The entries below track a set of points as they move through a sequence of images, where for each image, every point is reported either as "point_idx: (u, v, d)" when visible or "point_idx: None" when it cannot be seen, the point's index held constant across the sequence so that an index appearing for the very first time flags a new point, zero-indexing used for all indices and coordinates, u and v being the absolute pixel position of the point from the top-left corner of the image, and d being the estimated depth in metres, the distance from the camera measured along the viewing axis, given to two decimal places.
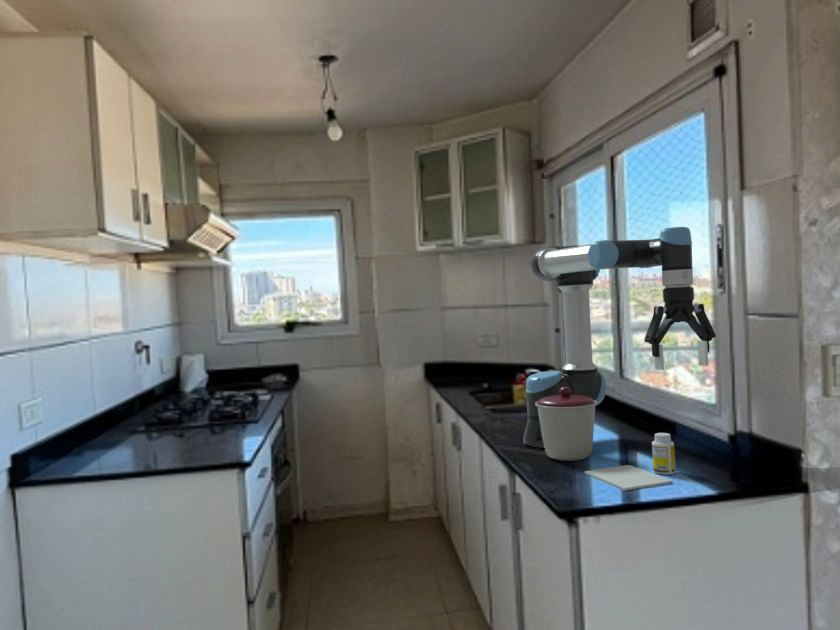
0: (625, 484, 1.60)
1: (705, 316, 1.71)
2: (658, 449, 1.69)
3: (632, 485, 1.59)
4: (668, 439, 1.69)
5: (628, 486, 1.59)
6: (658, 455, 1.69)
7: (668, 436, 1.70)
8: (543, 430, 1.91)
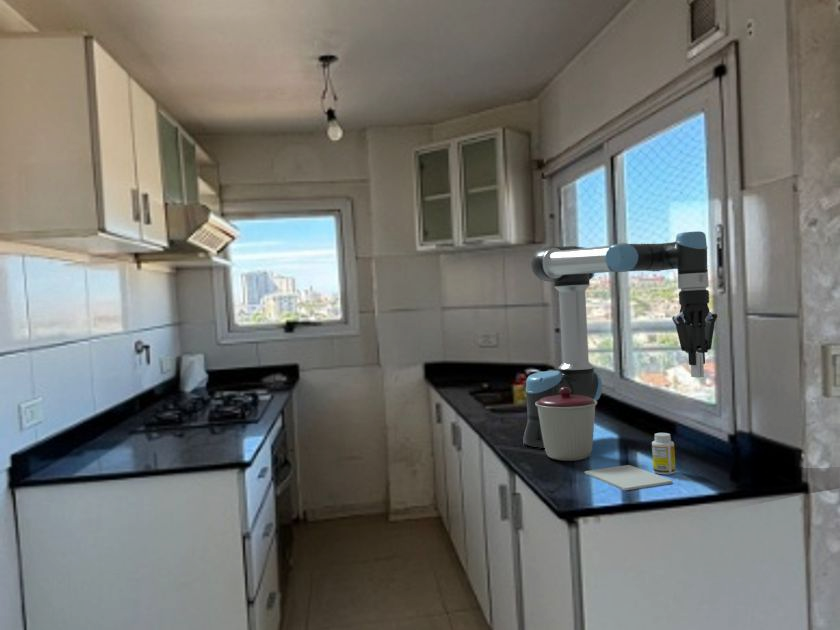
0: (625, 484, 1.60)
1: (712, 326, 1.75)
2: (658, 449, 1.69)
3: (632, 485, 1.59)
4: (668, 439, 1.69)
5: (628, 486, 1.59)
6: (658, 455, 1.69)
7: (668, 436, 1.70)
8: (543, 430, 1.91)
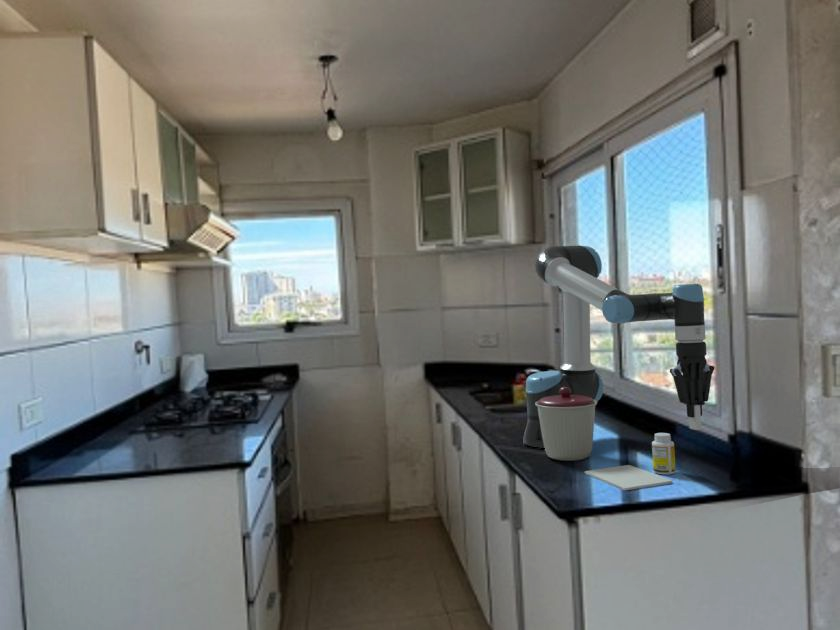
0: (625, 484, 1.60)
1: (710, 378, 1.74)
2: (658, 449, 1.69)
3: (632, 485, 1.59)
4: (668, 439, 1.69)
5: (628, 486, 1.59)
6: (658, 455, 1.69)
7: (668, 436, 1.70)
8: (543, 430, 1.91)
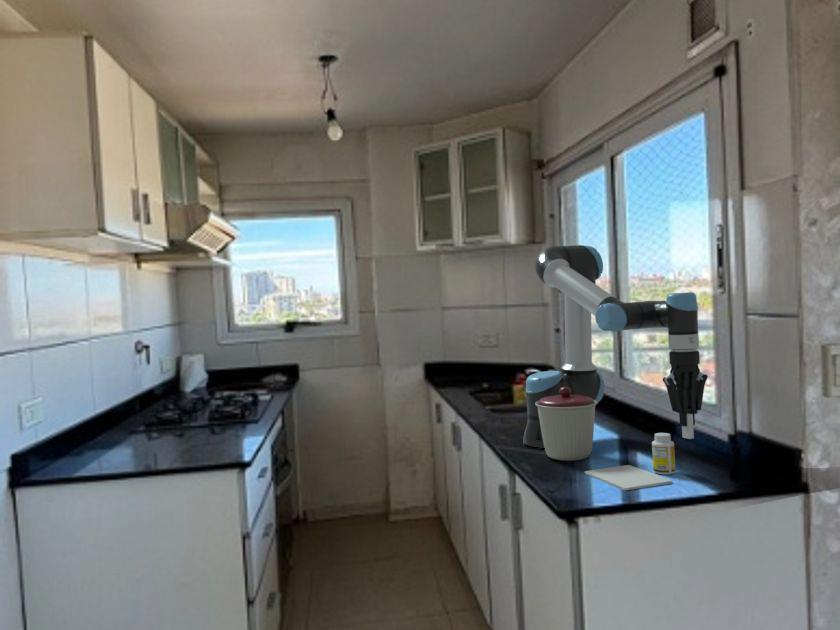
0: (625, 484, 1.60)
1: (703, 387, 1.74)
2: (658, 449, 1.69)
3: (632, 485, 1.59)
4: (668, 439, 1.69)
5: (628, 486, 1.59)
6: (658, 455, 1.69)
7: (668, 436, 1.70)
8: (543, 430, 1.91)
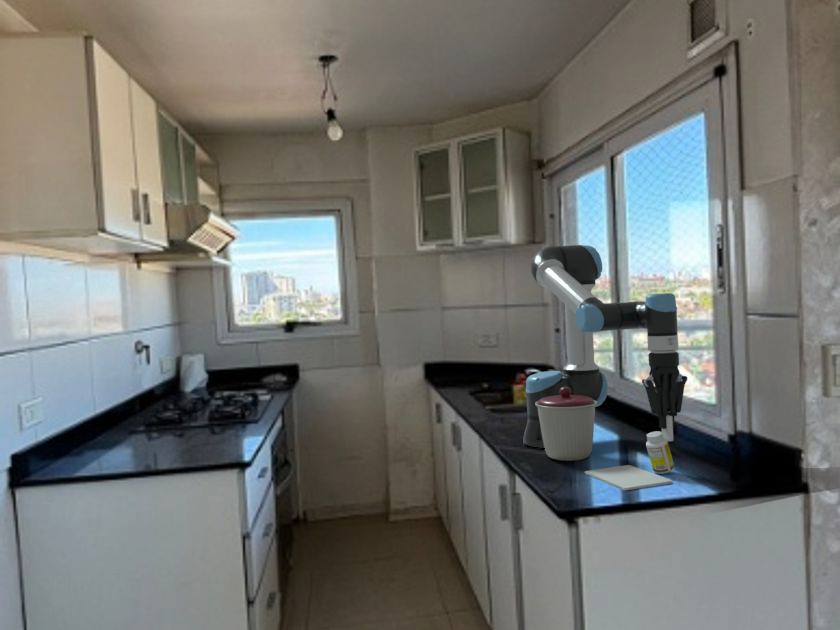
0: (625, 484, 1.60)
1: (682, 389, 1.72)
2: (653, 451, 1.69)
3: (632, 485, 1.59)
4: (661, 438, 1.69)
5: (628, 486, 1.59)
6: (654, 456, 1.69)
7: (660, 435, 1.69)
8: (543, 430, 1.91)
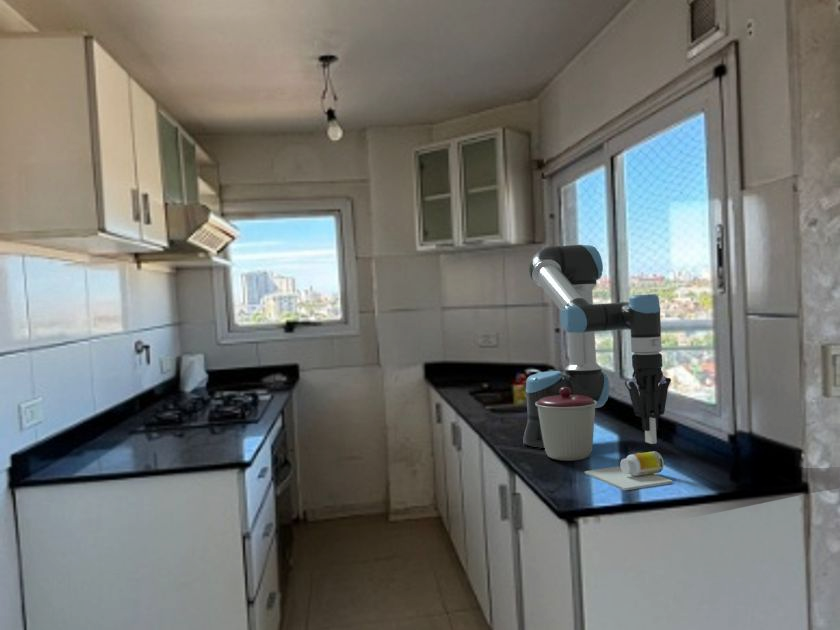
0: (625, 484, 1.60)
1: (666, 391, 1.70)
2: (638, 475, 1.67)
3: (632, 485, 1.59)
4: (633, 468, 1.65)
5: (628, 486, 1.59)
6: None
7: (630, 468, 1.65)
8: (543, 430, 1.91)
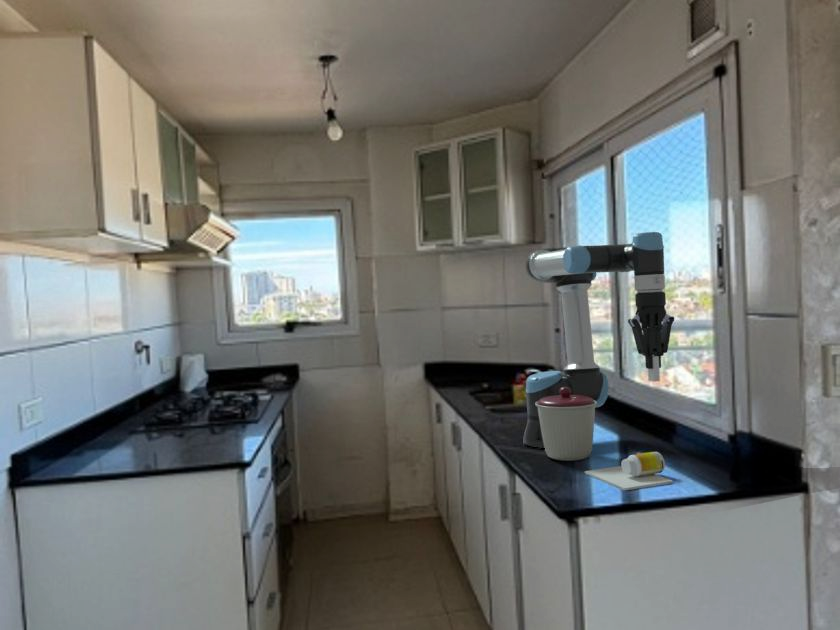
0: (625, 484, 1.60)
1: (669, 329, 1.71)
2: None
3: (632, 485, 1.59)
4: (634, 470, 1.65)
5: (628, 486, 1.59)
6: None
7: (631, 470, 1.64)
8: (543, 430, 1.91)
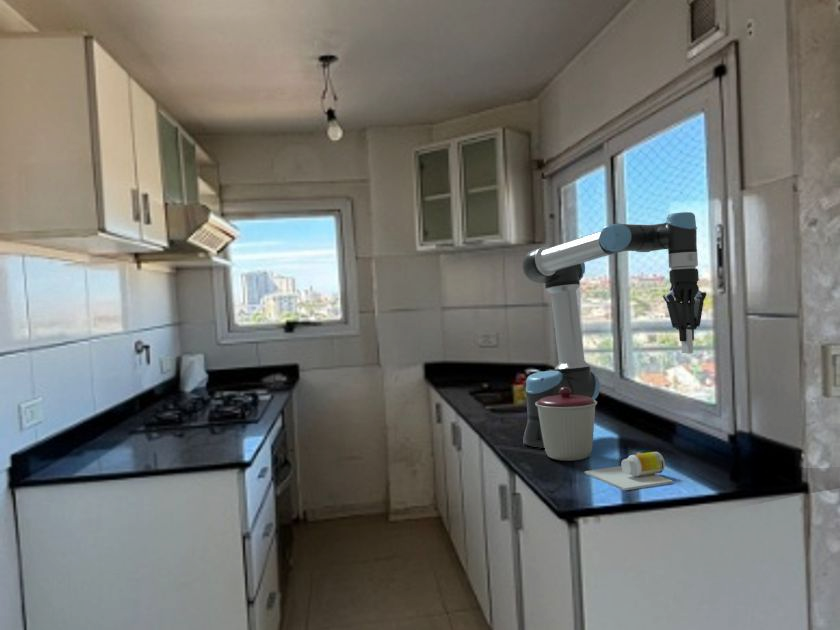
0: (625, 484, 1.60)
1: (701, 304, 1.81)
2: None
3: (632, 485, 1.59)
4: (634, 470, 1.65)
5: (628, 486, 1.59)
6: None
7: (631, 470, 1.64)
8: (543, 430, 1.91)
